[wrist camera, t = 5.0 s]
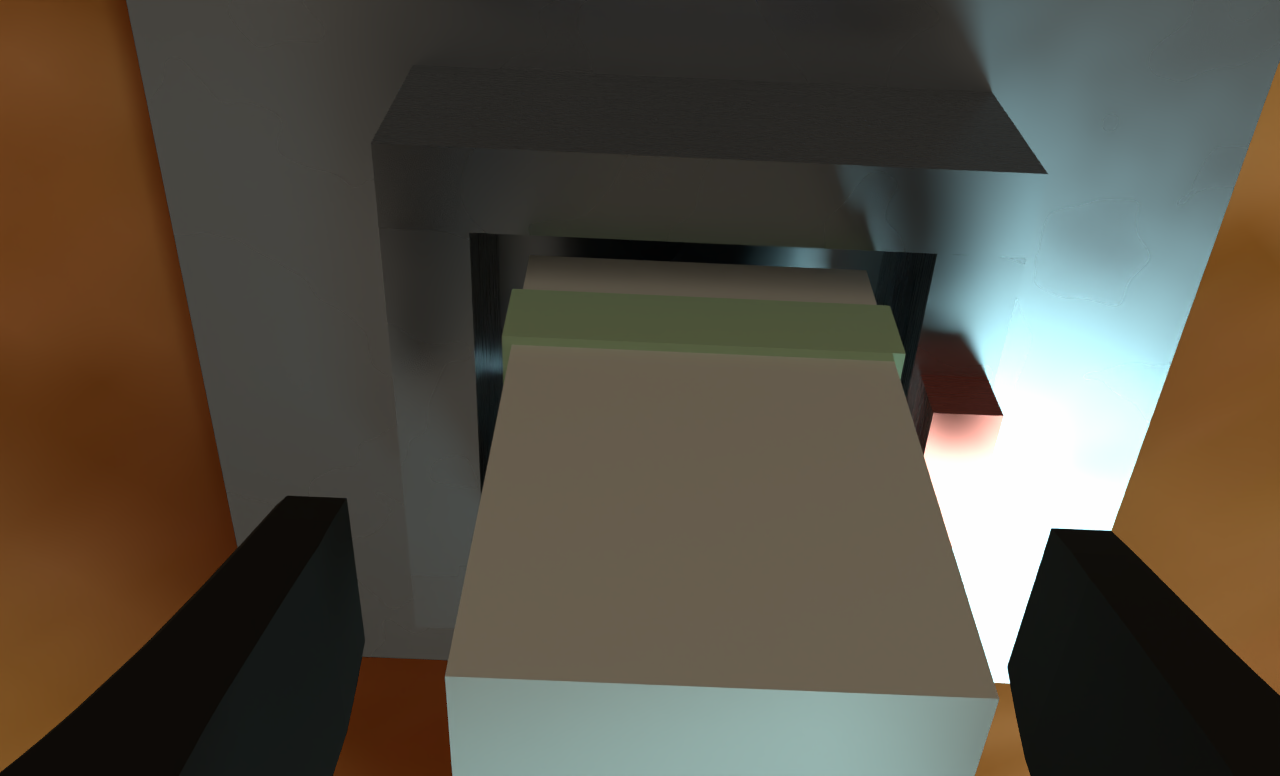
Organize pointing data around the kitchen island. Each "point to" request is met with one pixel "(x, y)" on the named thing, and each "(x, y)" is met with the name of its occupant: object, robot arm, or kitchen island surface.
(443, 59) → the stand base
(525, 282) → the pale grey block
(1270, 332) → the kitchen island surface
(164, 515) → the kitchen island surface
